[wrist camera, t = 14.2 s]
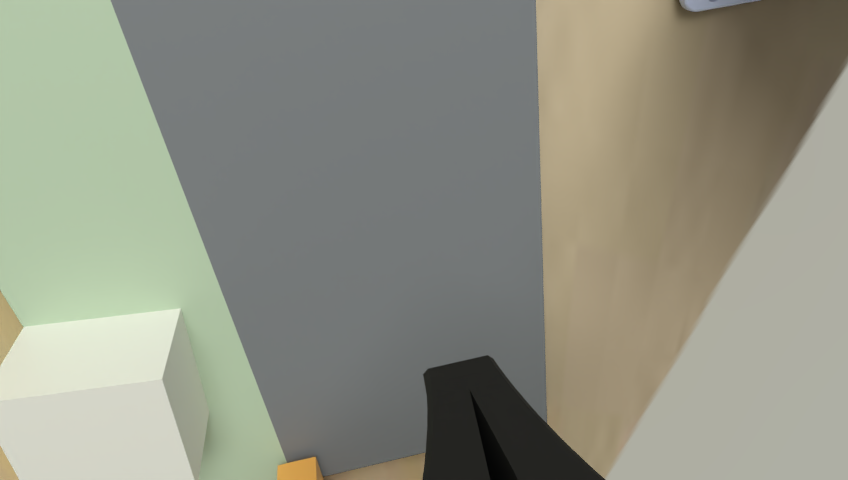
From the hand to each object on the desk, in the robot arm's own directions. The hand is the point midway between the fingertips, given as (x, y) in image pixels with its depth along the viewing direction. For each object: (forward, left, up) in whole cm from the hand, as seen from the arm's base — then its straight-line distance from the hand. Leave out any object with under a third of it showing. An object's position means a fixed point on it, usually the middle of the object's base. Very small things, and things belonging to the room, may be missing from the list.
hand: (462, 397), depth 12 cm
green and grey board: (+4, +2, -10) cm, 11 cm away
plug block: (+11, +5, -9) cm, 15 cm away
